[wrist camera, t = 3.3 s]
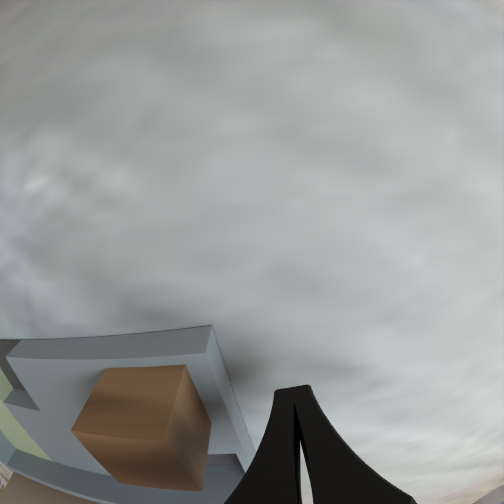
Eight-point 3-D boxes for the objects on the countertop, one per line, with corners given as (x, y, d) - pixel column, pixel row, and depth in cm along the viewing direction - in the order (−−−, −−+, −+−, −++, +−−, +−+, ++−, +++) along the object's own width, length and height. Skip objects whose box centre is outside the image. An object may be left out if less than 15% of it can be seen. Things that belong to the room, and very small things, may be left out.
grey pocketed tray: (261, 467, 17) (261, 519, 13) (24, 440, 19) (7, 468, 15) (206, 306, 13) (185, 376, 9) (-51, 328, 15) (-79, 353, 10)
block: (212, 423, 13) (202, 491, 9) (140, 423, 13) (119, 482, 9) (185, 364, 11) (163, 440, 8) (106, 367, 12) (70, 430, 8)
